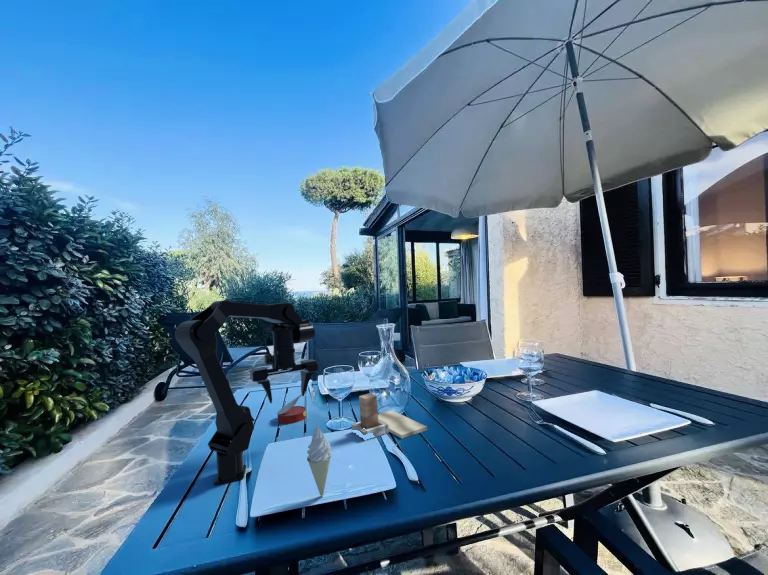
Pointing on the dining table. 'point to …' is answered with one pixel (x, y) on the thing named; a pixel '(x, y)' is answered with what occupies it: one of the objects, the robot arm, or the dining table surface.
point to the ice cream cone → (319, 458)
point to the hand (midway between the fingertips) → (287, 399)
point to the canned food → (291, 413)
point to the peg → (368, 411)
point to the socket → (392, 425)
